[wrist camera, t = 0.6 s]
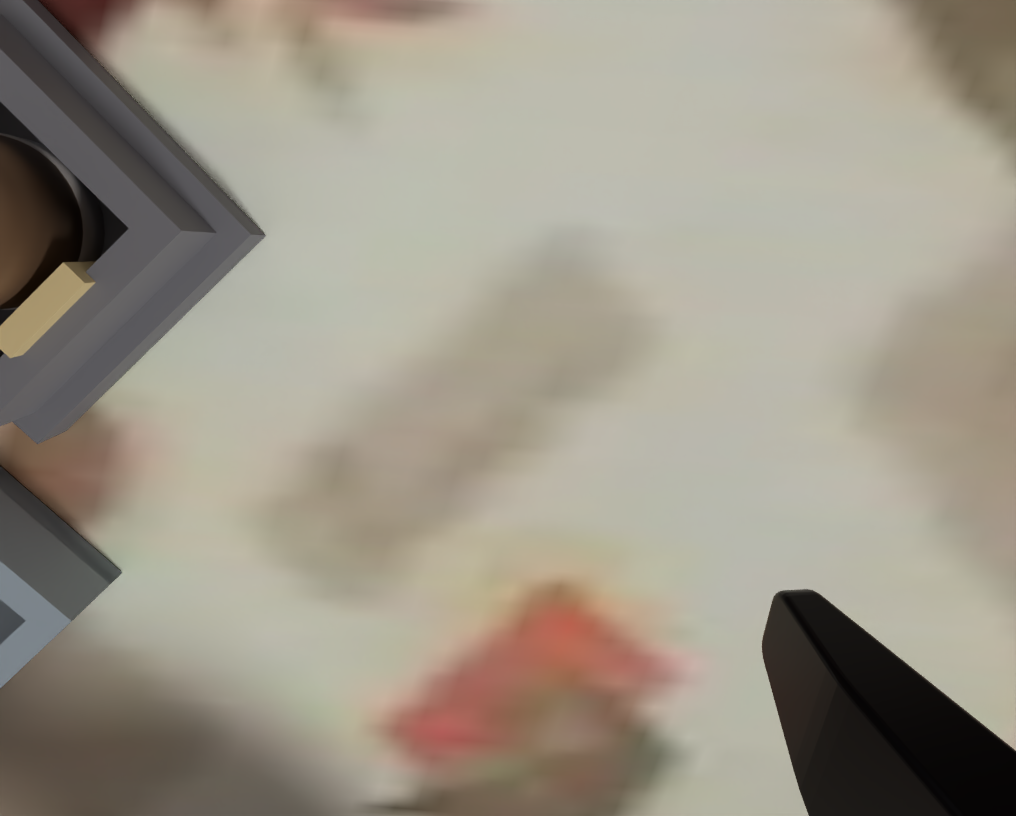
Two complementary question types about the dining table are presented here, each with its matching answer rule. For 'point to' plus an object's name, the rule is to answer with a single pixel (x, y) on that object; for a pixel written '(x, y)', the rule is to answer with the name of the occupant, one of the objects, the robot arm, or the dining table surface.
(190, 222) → the socket block
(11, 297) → the peg
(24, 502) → the tray
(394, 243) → the dining table surface
